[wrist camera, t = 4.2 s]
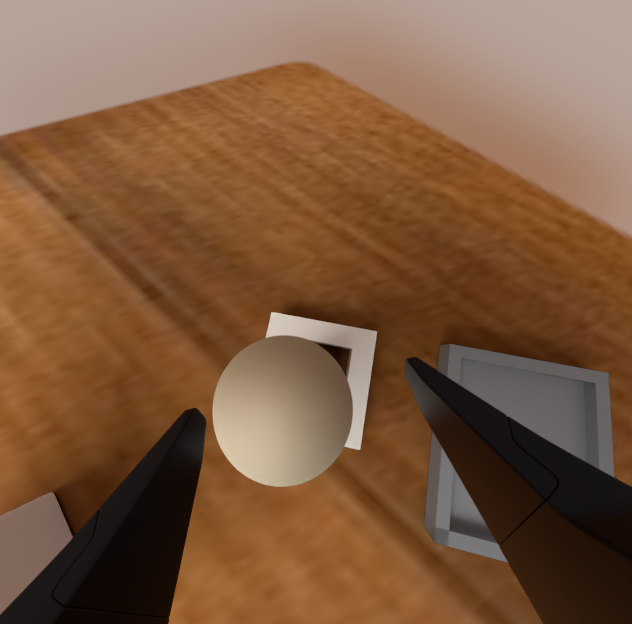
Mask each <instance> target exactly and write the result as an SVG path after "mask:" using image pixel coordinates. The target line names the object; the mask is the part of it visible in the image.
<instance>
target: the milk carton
mask: <svg viewBox="0 0 632 624" xmlns="http://www.w3.org/2000/svg"><path fill="white" fill-rule="evenodd" d="M72 538H73V536H72V534H71V532H70V529H69V527H68V525H67V522H66V520H65V518H64V515H63V513H62V511H61V508H60V506H59V504H58V501H57V499H56V497H55V495H54V493H53V492H50V493H47V494H45V495H43V496H41V497H39V498H37V499H35V500H33V501H30V502H28V503H26V504H24V505H22V506H20V507H18V508H16V509H14V510H12V511H9V512H7V513H5V514H3V515H1V516H0V614H1V613H2V612H3V611H4V610H5V609H6V608H7V607H8V606H9V605H10V604H11V603H12V602H13V601H14V600H15V599H16V597H17V596H18V595H19V594H20V593H21V592H22V591H23V590H24V589H25V588H26V587H27V586H28V585H29V584H30V583H31V582H32V581H33V580H34V579H35V578H36V577H37V576H38V575H39V573H40V572H41V571H42V570H43V569H44V568H45V567H46V566H47V565H48V564H49V563H50V562H51V561H52V560H53V559H54V558H55V557H56V555H57V554H58V553H59V552H60V551H61V550H62V549H63V548H64V547H65V546H66V545H67V544H68V543H69V542H70V540H71V539H72Z"/></svg>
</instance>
